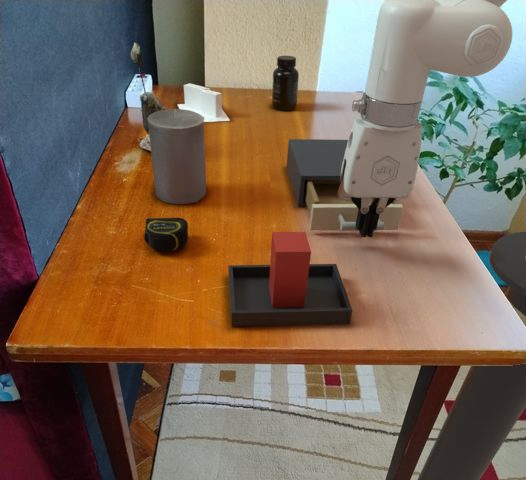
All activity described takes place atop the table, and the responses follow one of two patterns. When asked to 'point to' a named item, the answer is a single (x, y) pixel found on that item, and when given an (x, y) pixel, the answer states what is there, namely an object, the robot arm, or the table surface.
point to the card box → (289, 269)
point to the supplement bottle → (285, 84)
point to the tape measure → (166, 233)
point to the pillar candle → (178, 155)
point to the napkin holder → (203, 103)
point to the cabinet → (313, 162)
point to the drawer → (341, 209)
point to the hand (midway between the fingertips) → (364, 232)
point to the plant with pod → (145, 99)
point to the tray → (262, 314)
